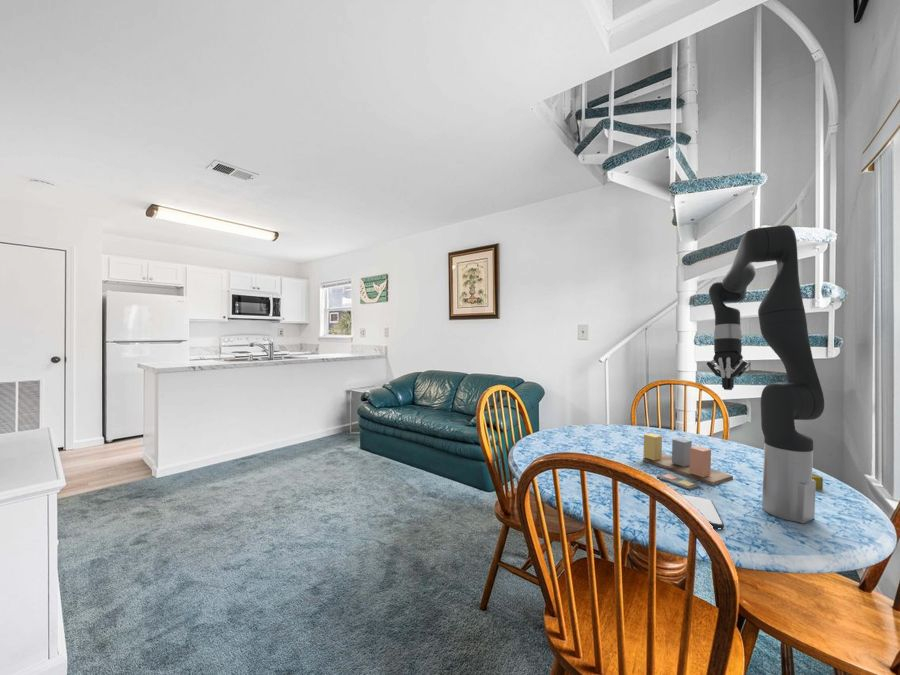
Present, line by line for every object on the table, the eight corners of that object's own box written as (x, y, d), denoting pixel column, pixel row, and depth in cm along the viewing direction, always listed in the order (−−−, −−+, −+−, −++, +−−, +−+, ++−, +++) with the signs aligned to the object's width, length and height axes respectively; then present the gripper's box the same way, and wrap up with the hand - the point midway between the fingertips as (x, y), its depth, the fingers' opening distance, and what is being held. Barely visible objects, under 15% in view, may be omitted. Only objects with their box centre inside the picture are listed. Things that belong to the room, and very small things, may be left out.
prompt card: (699, 487, 112) (699, 484, 112) (689, 490, 110) (689, 487, 109) (667, 475, 121) (667, 472, 121) (657, 477, 118) (657, 475, 118)
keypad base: (732, 479, 118) (732, 475, 118) (712, 485, 113) (712, 482, 113) (662, 456, 138) (662, 453, 138) (643, 460, 134) (643, 457, 134)
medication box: (779, 474, 123) (780, 462, 122) (788, 474, 123) (788, 462, 122) (814, 490, 111) (814, 477, 110) (823, 490, 110) (824, 477, 110)
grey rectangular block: (691, 464, 126) (691, 440, 126) (683, 466, 124) (684, 442, 124) (679, 460, 130) (679, 437, 130) (671, 462, 128) (672, 439, 128)
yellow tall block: (661, 458, 132) (662, 435, 132) (654, 460, 130) (654, 437, 130) (650, 455, 135) (651, 433, 135) (643, 456, 134) (643, 434, 133)
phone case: (674, 498, 106) (680, 524, 92) (674, 492, 106) (681, 517, 92) (712, 505, 102) (725, 532, 88) (712, 499, 102) (725, 526, 88)
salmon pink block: (710, 475, 118) (711, 449, 117) (702, 477, 116) (703, 451, 115) (697, 470, 121) (697, 445, 121) (689, 472, 119) (690, 447, 119)
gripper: (700, 338, 134) (700, 388, 131) (743, 335, 122) (743, 389, 120) (713, 341, 137) (713, 389, 135) (756, 338, 125) (756, 391, 123)
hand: (727, 389), depth 127 cm, fingers closed
